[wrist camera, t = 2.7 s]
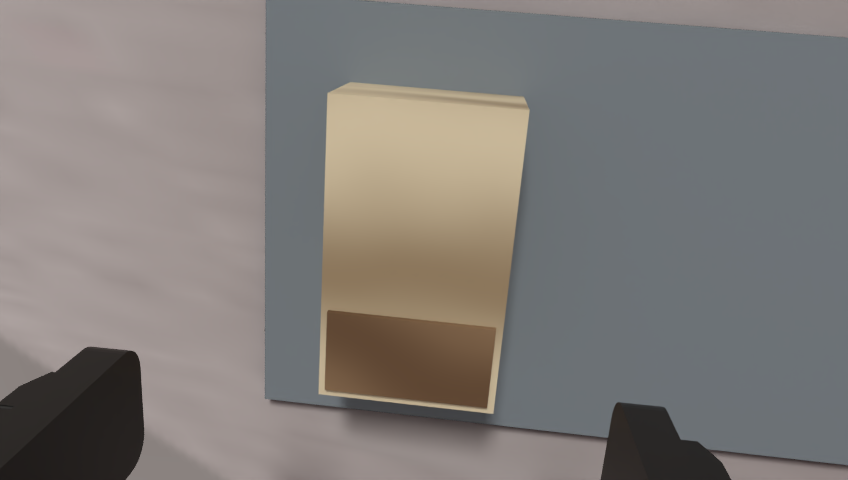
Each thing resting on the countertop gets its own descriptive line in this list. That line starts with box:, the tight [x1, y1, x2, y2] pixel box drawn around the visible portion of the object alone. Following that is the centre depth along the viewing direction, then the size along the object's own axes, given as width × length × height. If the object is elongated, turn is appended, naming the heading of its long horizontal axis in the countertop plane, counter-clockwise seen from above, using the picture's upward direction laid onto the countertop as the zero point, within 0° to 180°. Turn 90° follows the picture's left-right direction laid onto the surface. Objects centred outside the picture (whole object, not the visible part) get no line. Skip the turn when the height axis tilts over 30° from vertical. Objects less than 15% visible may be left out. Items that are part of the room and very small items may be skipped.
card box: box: [319, 82, 530, 414], centre depth 20 cm, size 8×5×3 cm, turn 176°
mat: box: [265, 0, 848, 465], centre depth 21 cm, size 13×20×1 cm, turn 86°
